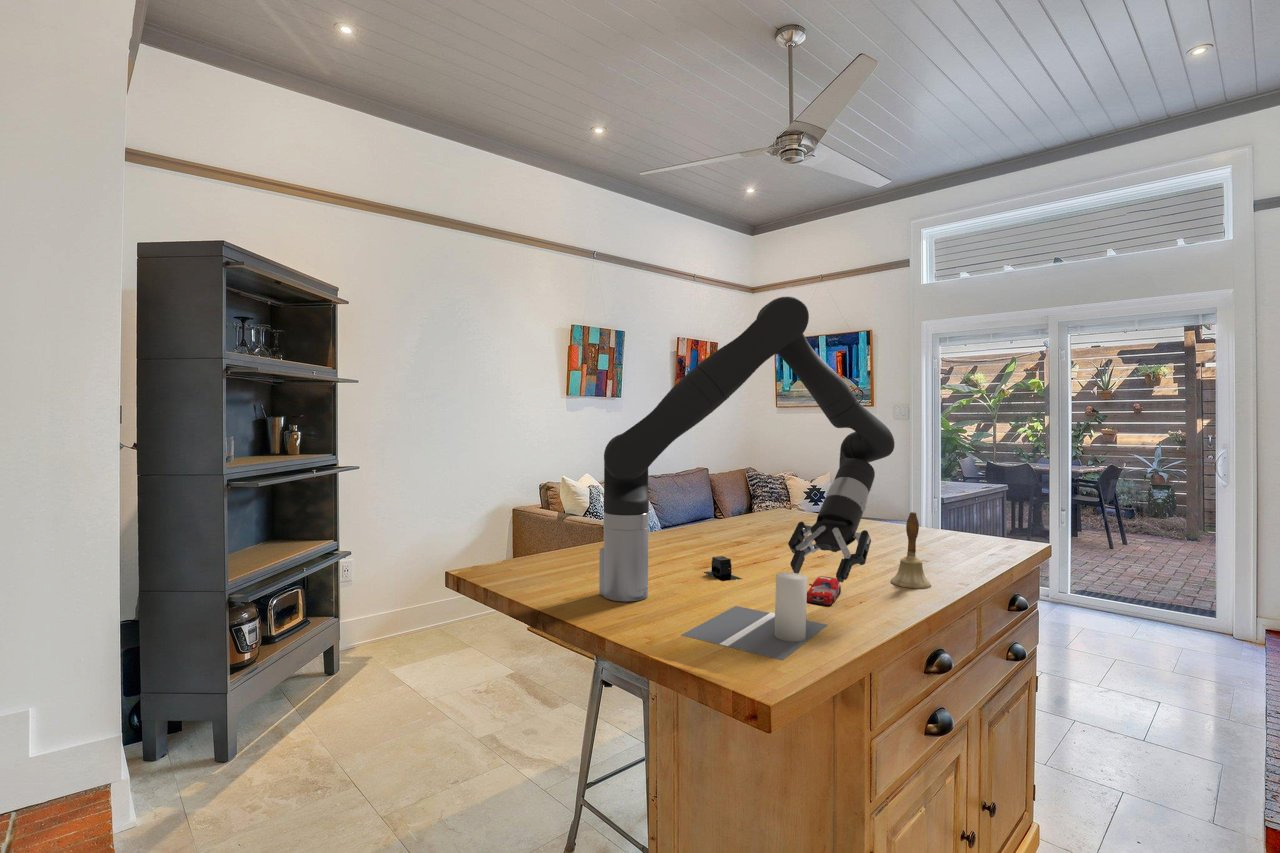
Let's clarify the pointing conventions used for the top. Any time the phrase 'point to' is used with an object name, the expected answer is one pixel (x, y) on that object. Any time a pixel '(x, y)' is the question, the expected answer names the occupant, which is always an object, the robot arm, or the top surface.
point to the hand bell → (911, 560)
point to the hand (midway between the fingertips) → (816, 575)
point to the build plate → (721, 569)
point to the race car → (824, 590)
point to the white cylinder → (790, 607)
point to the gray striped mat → (750, 632)
